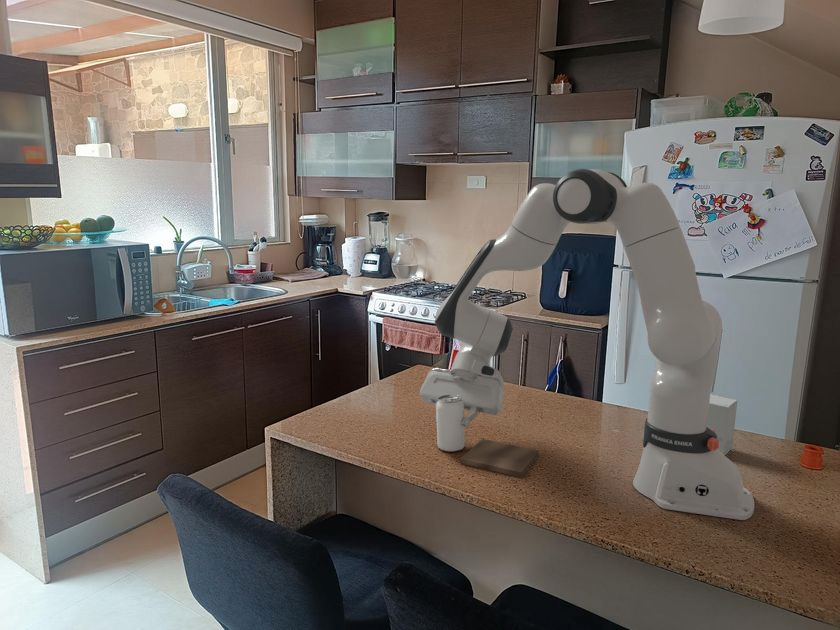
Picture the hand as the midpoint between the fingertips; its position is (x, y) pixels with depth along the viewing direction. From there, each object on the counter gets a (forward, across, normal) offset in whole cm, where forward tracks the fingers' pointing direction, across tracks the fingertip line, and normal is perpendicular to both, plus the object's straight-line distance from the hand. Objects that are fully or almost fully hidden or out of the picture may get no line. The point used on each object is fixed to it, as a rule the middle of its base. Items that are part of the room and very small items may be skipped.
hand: (451, 423), depth 142 cm
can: (+4, 0, +5) cm, 6 cm away
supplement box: (-17, +55, +26) cm, 63 cm away
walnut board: (+4, +12, +5) cm, 14 cm away
